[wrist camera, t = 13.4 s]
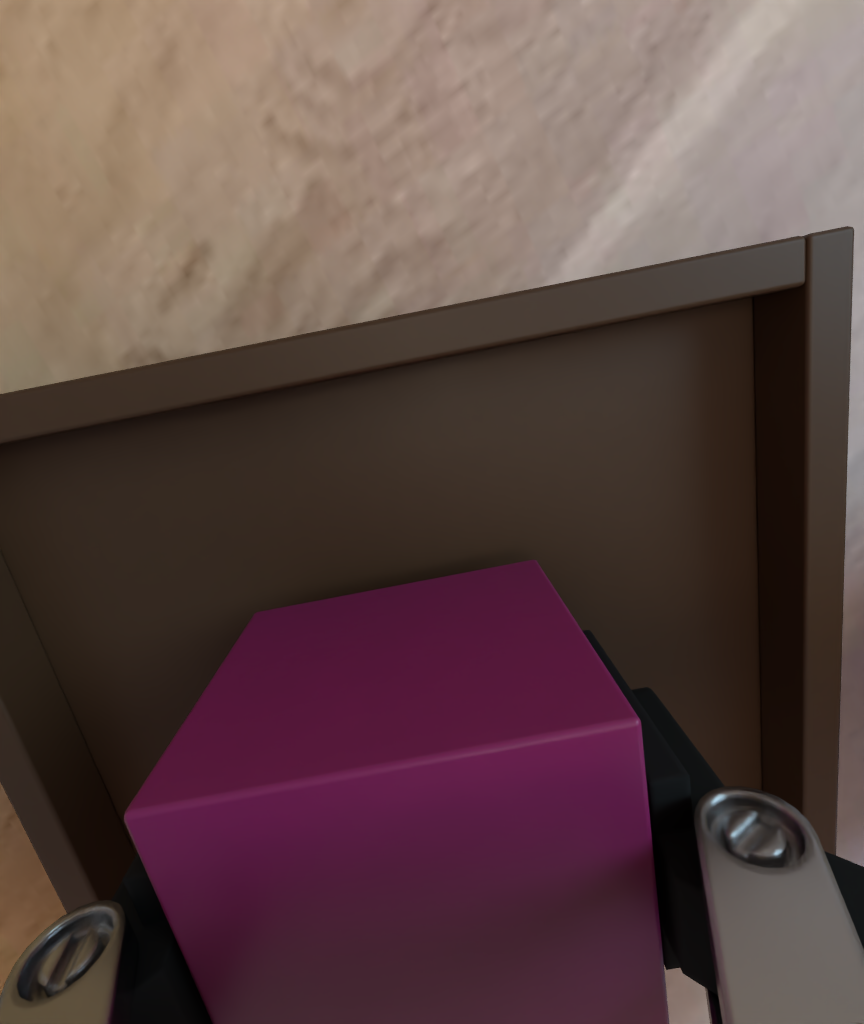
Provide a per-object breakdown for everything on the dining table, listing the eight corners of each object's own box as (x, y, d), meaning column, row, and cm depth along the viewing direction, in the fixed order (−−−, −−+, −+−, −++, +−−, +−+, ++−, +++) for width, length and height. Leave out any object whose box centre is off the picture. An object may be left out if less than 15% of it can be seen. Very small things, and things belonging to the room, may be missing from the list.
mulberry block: (323, 834, 12) (263, 1147, 7) (253, 610, 10) (117, 816, 6) (569, 789, 12) (676, 1074, 7) (536, 557, 10) (643, 720, 6)
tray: (171, 956, 15) (133, 1049, 13) (-69, 418, 11) (-182, 430, 9) (777, 846, 15) (835, 922, 13) (770, 252, 10) (856, 224, 8)
